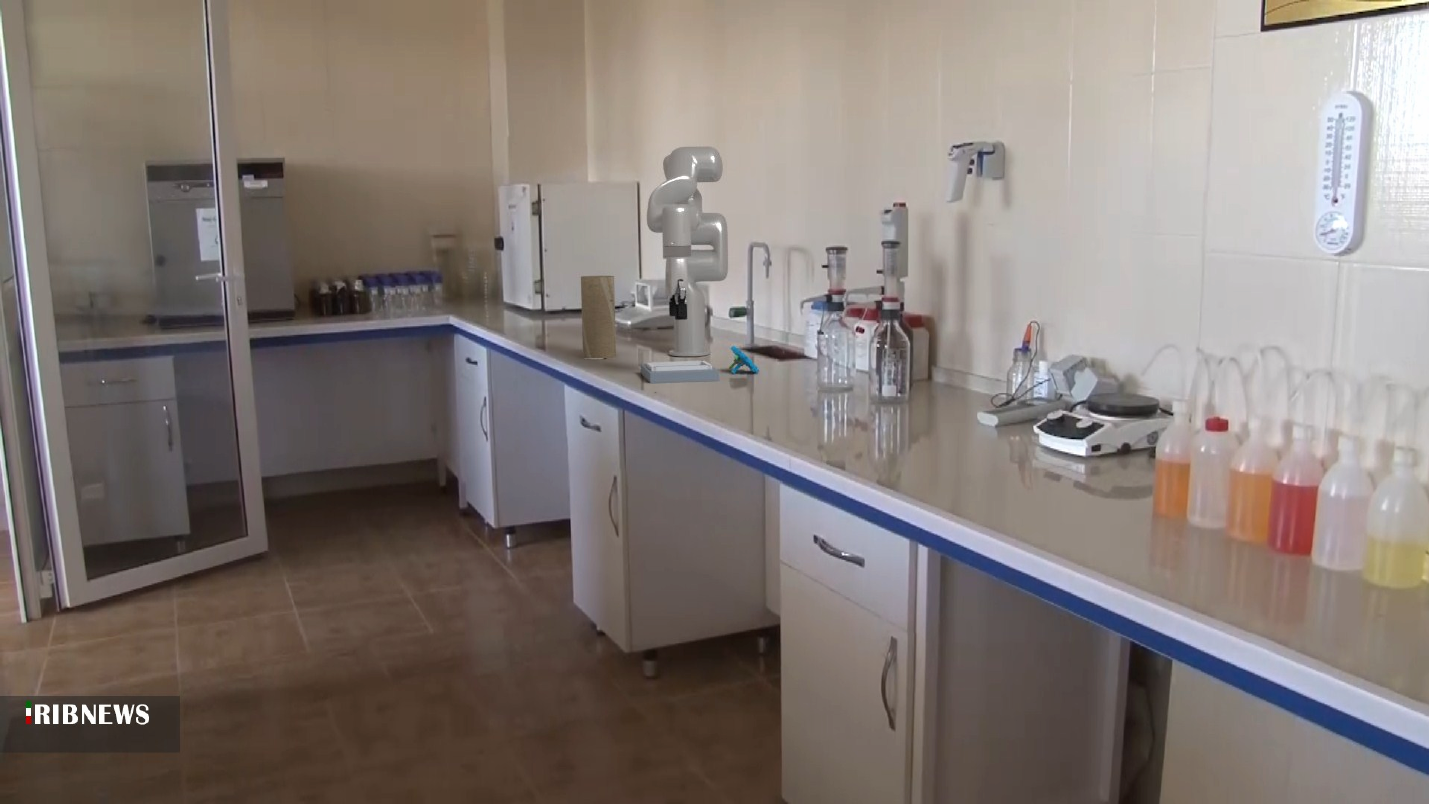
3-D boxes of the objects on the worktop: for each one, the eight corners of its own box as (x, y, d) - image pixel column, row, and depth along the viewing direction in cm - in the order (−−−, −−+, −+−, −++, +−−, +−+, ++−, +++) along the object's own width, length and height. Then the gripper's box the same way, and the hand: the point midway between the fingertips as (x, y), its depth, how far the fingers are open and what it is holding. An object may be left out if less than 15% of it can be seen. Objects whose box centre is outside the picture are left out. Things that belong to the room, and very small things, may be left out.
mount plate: (640, 373, 315) (640, 360, 314) (705, 371, 318) (705, 358, 318) (650, 383, 296) (650, 369, 295) (719, 380, 299) (719, 367, 298)
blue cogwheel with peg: (765, 371, 308) (740, 345, 305) (750, 387, 307) (725, 361, 304) (752, 367, 318) (729, 341, 315) (738, 382, 318) (714, 357, 315)
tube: (618, 357, 354) (616, 275, 350) (612, 361, 344) (610, 277, 340) (586, 357, 355) (584, 275, 351) (579, 360, 345) (577, 277, 341)
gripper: (658, 251, 310) (659, 315, 313) (667, 254, 293) (669, 321, 296) (685, 251, 311) (686, 314, 314) (696, 254, 294) (697, 320, 297)
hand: (678, 317), depth 305 cm, fingers open, 9 cm apart
